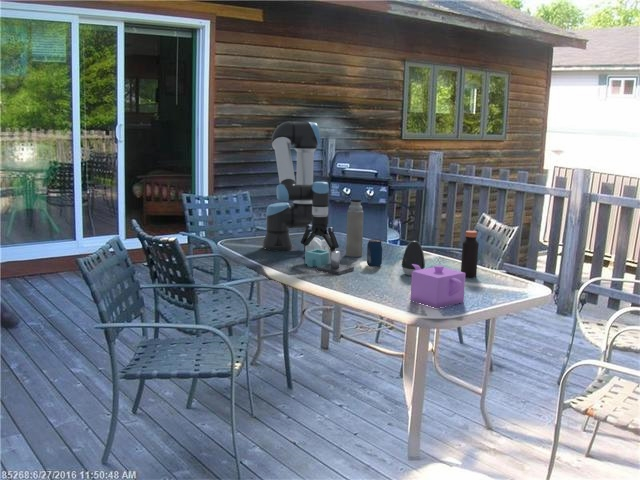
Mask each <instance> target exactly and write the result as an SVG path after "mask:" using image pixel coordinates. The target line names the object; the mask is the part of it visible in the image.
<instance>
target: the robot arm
mask: <svg viewBox="0 0 640 480" xmlns="http://www.w3.org/2000/svg"><path fill="white" fill-rule="evenodd" d="M320 145H321V132H320V127H319V125H318V124H317V122H313V121H284V122H282V123H280V124H279V125H278V126H277V127H276V128H275V129H274V131H273V133H272V135H271V146H272V148H273V150H274V153H275V161H276V167H277V174H278V179H279V184H278V185H276V189H275V190H276V191H275V192H276V199H277V200H278V201H282V202H276V203H270V204H268V206H267V207H266V214H265V216H266V228H265V229H266V232H265V237H264V240H263V242H262V249H263V248H266V249H270V250H269V251H271V250H279V251H278V252H281V251H282V252H285V251H290V250H292V249H293V243H292V240H291V236H290V229H301V228H302V229H305V232H304V233H303V236H302V238H301V241H300V244H302V245H303V246H304V247H303V249H304V250H303V251H304V253H305V252H306V251H310V245H309V243H310V242H311V241H312V239H313V238H315V237H316V236H319V237H322V238H323V240H324V239H325V241H326V242H327V244H328V245H329V249H328V251H329V262H328V263H331V251H336V249H339V247H340V245H339V244H338V239H337V238H336V235H335V232H334V227H332V226H330V227H328V225H329V216H328V215H329V196H330V195H329V194H330V193H329V192H330V188H329V187H330V186H329V185H330V184H329V182H327V181H314V155H315V154H314V153H315V151H316V150H317V148H318V146H320ZM291 146H293V150H294V151H296V177H295V170H294V164H293V163H294V162H293V158H292V151H291ZM283 201H284V202H283ZM288 201H289V202H290V201H291V202H292V205H290V203H289V202H288ZM311 231H312V232H311ZM266 249H265V250H266ZM284 250H285V251H284Z"/></svg>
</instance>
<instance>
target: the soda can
mask: <svg viewBox="0 0 640 480" xmlns="http://www.w3.org/2000/svg"><path fill="white" fill-rule="evenodd" d="M366 246H367V252H366V264H367V266H368V267H370V268H380V267H381V266H382V263H383V242H382V240H381V239H373V238H372V239H369V240H368V242H367V245H366Z"/></svg>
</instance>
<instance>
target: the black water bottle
mask: <svg viewBox="0 0 640 480" xmlns="http://www.w3.org/2000/svg"><path fill="white" fill-rule="evenodd" d="M477 237H478V231H477V230H466V231H465V239H464V240H463V242H462V249H461V260H460V261H461V262H460V263H461V265H460V272H464V273H465V278H468V279H470V278H471V279H472V278H474V279H475V278H476V277H477V272H478V271H477V270H478V269H477V268H478V258H479V256H478V255H479V242H478V240H477Z"/></svg>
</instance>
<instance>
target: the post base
mask: <svg viewBox="0 0 640 480" xmlns="http://www.w3.org/2000/svg"><path fill="white" fill-rule="evenodd" d="M317 270H318V271H317ZM354 270H355V267H354V266H351V265H345V264H341V251H339V250H335V251H331V263H330V264H327V265H323V266H320V267H316V271H317V272H321V271H323V272H322V273H326V272H328V273H327V274H331V273H332V275H336V274H337V275H338V276H340V275H343V274H346V273H350V272H353V271H354ZM339 274H340V275H339Z"/></svg>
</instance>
